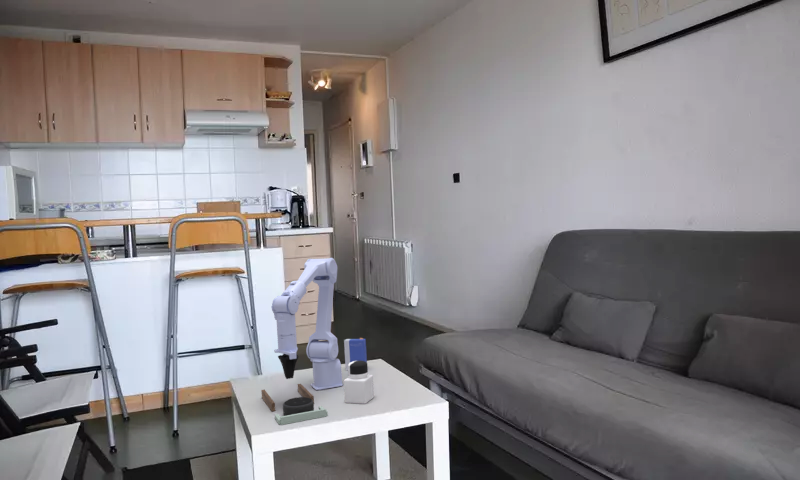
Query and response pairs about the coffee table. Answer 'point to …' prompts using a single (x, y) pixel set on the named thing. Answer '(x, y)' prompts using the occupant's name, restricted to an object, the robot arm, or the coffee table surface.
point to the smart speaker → (298, 405)
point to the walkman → (355, 350)
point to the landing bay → (301, 416)
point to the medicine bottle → (358, 383)
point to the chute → (271, 403)
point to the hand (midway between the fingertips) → (289, 378)
